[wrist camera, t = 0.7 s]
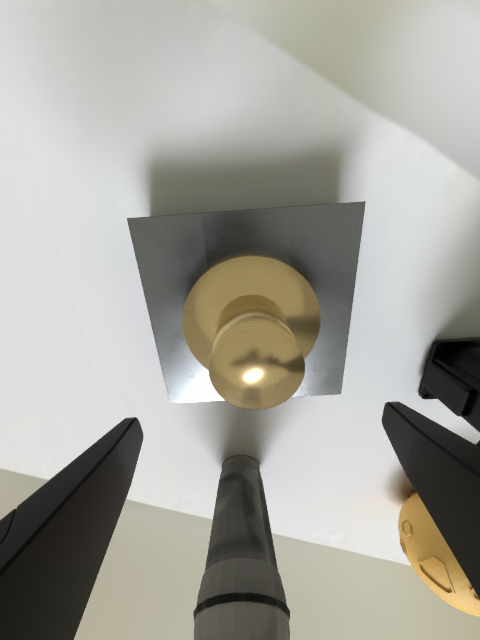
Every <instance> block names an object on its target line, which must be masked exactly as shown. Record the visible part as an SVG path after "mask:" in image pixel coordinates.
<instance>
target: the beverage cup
mask: <svg viewBox="0 0 480 640" xmlns="http://www.w3.org/2000/svg"><path fill="white" fill-rule="evenodd" d="M289 620H290V611H289V609H288V607H287V605H286V598H285V593H284V589H283V585H282V581H281V577H280V575H279V573H278V569H277V563H276V557H275V551H274V546H273V540H272V534H271V528H270V523H269V517H268V511H267V505H266V499H265V494H264V488H263V482H262V478H261V474H260V471H259V465H258V462H257V461H256V460H255V459H253V458H251V457H249V456H244V455H237V456H233V457H230V458H228V459H227V460H226V461H225V462H224V463H223V465H222V472H221V476H220V479H219V485H218V492H217V498H216V504H215V511H214V517H213V524H212V530H211V536H210V543H209V549H208V556H207V562H206V568H205V573H204V575H203V578H202V582H201V586H200V590H199V594H198V601H197V607H196V609H195V610H194V622H195V626H194V640H290V630H289Z"/></svg>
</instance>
